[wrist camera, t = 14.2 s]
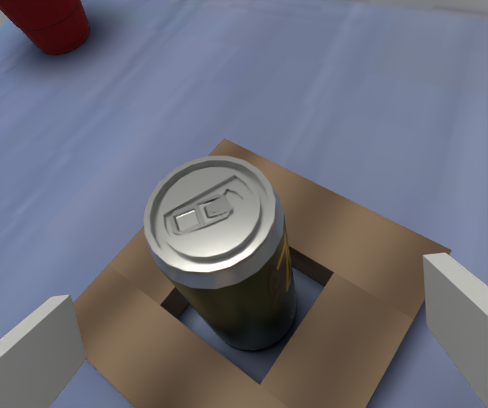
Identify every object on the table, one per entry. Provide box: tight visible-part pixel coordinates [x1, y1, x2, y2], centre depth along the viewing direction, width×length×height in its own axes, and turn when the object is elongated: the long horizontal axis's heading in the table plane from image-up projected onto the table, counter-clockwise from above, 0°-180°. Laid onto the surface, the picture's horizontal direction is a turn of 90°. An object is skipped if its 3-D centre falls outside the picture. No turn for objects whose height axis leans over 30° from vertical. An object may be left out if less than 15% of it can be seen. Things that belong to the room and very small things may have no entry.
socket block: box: [73, 138, 451, 408], centre depth 23 cm, size 16×16×3 cm
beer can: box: [143, 156, 296, 350], centre depth 19 cm, size 5×5×12 cm
